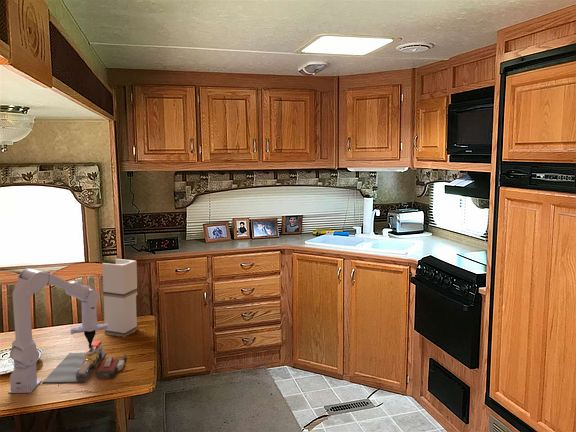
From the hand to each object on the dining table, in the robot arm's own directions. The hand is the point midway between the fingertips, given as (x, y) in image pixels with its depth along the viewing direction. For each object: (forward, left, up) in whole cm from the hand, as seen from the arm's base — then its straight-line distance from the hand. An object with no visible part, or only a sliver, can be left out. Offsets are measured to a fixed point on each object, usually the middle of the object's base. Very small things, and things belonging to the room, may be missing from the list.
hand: (90, 347), depth 200 cm
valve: (-7, -2, -6) cm, 9 cm away
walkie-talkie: (-7, -11, -6) cm, 14 cm away
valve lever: (-2, -2, 0) cm, 3 cm away
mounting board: (-7, +4, -6) cm, 9 cm away
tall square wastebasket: (+32, -4, -6) cm, 33 cm away
